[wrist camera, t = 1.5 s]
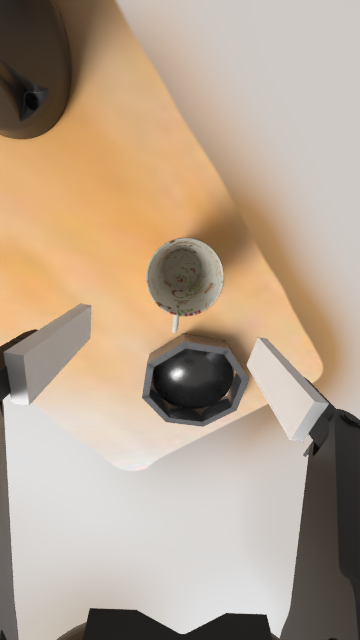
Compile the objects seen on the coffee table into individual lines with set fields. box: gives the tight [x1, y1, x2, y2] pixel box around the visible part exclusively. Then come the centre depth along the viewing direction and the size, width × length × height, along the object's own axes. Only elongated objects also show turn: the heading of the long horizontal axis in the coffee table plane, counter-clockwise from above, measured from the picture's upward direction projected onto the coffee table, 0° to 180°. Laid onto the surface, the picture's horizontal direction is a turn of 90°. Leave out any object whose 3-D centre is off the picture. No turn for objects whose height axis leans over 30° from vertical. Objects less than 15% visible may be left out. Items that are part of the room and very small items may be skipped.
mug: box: [146, 238, 224, 333], centre depth 25 cm, size 8×13×10 cm, turn 173°
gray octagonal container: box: [142, 334, 249, 426], centre depth 36 cm, size 18×18×3 cm
